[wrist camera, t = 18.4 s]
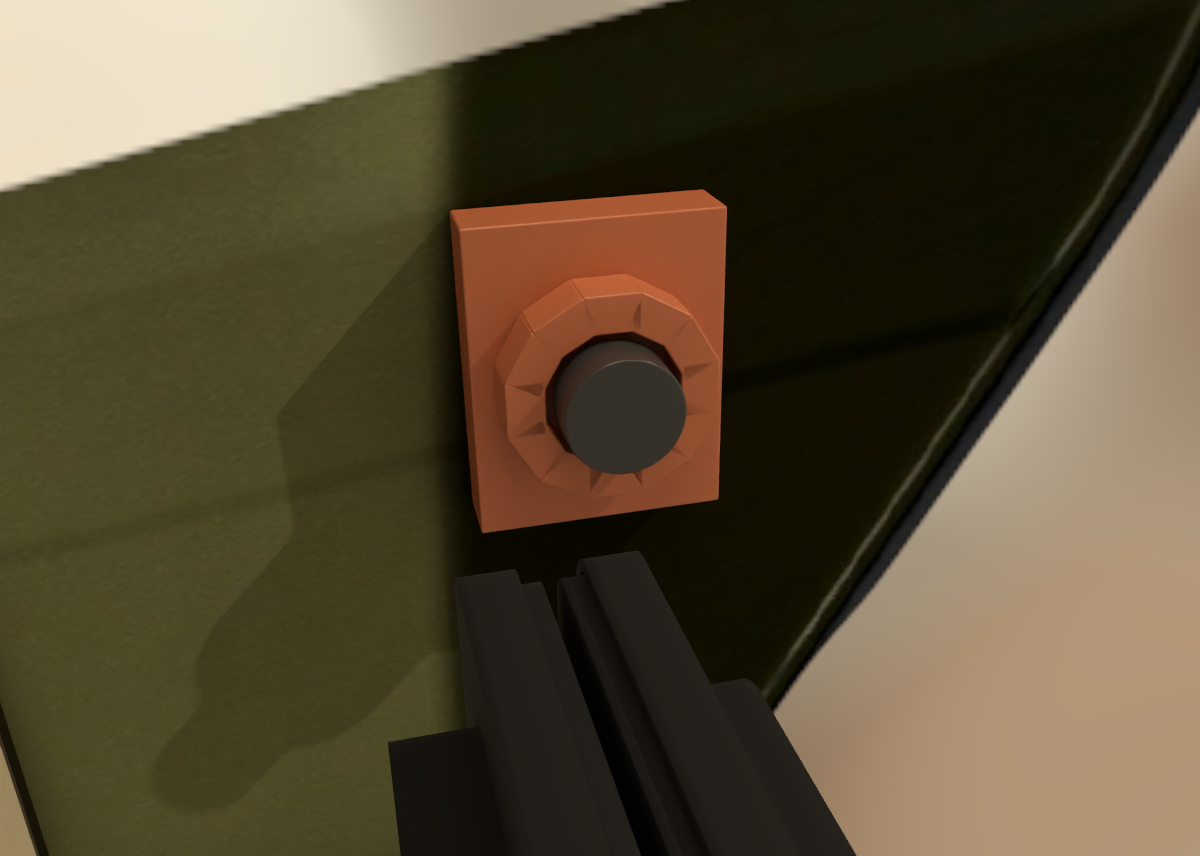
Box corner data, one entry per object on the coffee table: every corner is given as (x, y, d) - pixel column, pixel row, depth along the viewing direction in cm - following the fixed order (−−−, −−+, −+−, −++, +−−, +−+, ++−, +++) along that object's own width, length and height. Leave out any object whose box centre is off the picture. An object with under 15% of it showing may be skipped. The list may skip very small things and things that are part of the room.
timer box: (448, 209, 34) (467, 246, 30) (704, 188, 35) (749, 221, 32) (472, 501, 38) (490, 563, 34) (698, 470, 40) (737, 527, 36)
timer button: (549, 344, 32) (562, 367, 31) (670, 331, 33) (688, 353, 31) (554, 456, 34) (566, 483, 32) (668, 441, 35) (686, 467, 33)
